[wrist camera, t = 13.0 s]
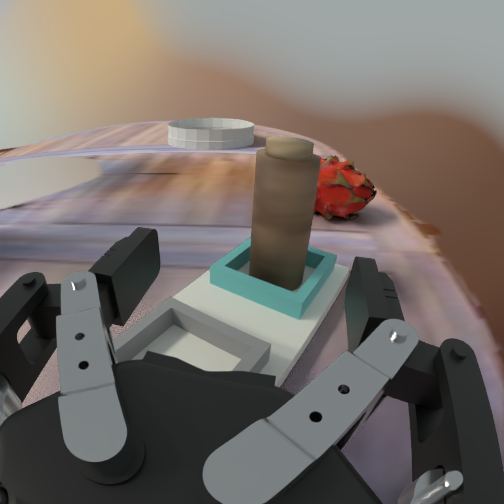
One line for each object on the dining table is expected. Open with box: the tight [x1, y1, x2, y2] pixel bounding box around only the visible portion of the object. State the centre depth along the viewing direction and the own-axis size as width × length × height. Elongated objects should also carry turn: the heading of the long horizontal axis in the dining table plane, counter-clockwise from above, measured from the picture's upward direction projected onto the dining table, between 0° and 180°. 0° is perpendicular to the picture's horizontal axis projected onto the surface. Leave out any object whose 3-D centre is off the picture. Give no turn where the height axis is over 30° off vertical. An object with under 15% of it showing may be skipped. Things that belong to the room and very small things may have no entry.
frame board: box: [113, 237, 350, 387], centre depth 22 cm, size 22×10×3 cm, turn 149°
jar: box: [249, 137, 321, 291], centre depth 24 cm, size 4×4×11 cm
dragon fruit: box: [314, 155, 377, 220], centre depth 40 cm, size 8×8×12 cm
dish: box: [168, 118, 254, 150], centre depth 79 cm, size 22×22×5 cm
